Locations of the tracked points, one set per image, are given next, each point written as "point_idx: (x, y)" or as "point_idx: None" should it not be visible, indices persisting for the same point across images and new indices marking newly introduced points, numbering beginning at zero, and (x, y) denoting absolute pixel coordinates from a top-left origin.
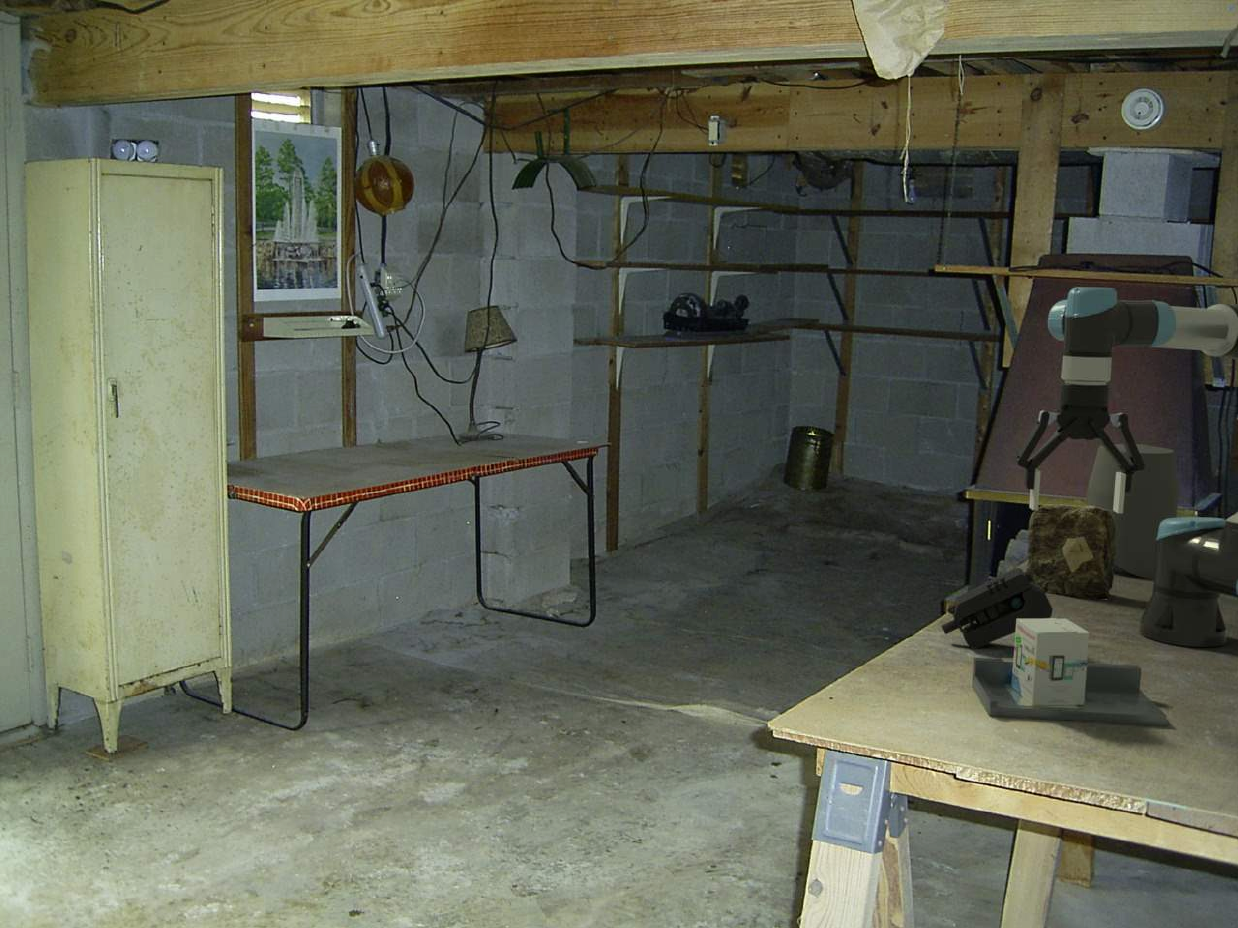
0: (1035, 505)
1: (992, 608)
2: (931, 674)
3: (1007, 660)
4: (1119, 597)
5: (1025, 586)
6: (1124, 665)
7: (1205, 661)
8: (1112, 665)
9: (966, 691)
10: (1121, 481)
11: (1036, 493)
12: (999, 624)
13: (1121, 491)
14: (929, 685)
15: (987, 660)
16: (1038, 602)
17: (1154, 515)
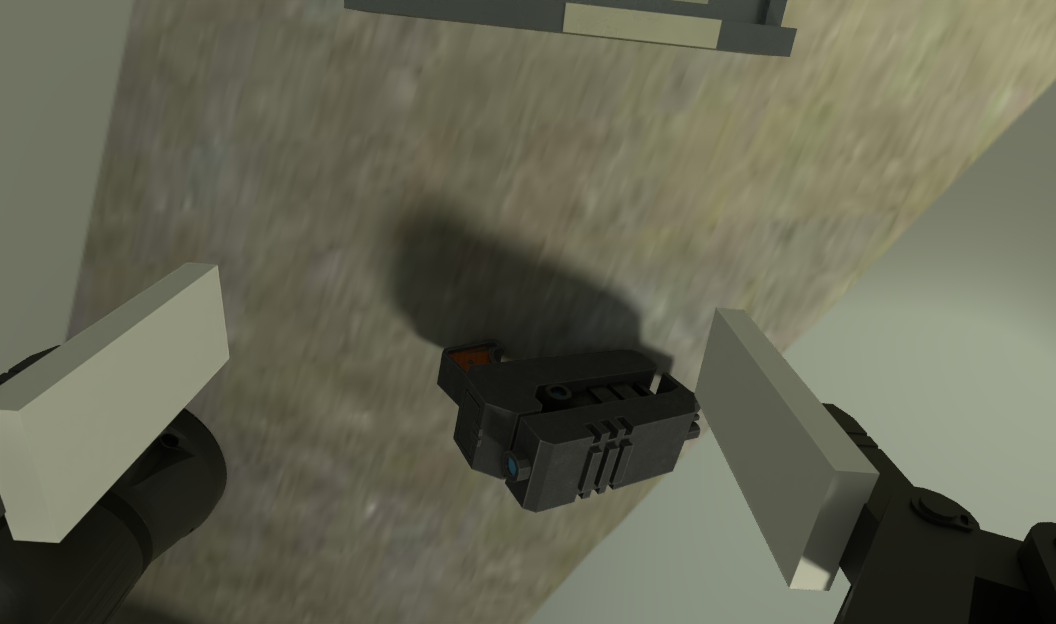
0: (742, 321)
1: (607, 402)
2: (814, 152)
3: (712, 21)
4: None
5: (538, 420)
6: (384, 8)
7: (127, 295)
8: (419, 4)
9: (787, 17)
10: (64, 371)
11: (773, 360)
12: (588, 371)
13: (117, 327)
14: (859, 62)
15: (763, 30)
16: (501, 389)
17: None
